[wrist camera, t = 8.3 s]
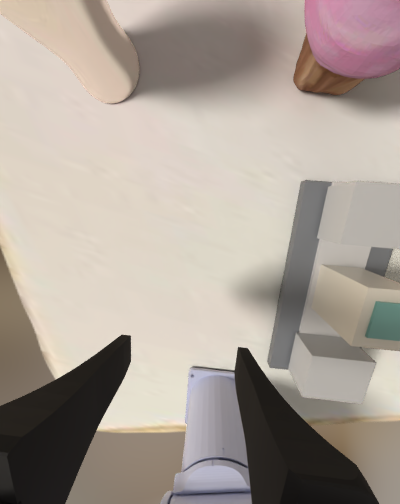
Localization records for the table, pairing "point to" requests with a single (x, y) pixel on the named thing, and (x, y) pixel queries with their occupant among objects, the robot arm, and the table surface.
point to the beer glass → (81, 42)
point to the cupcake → (347, 44)
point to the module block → (359, 306)
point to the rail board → (306, 275)
